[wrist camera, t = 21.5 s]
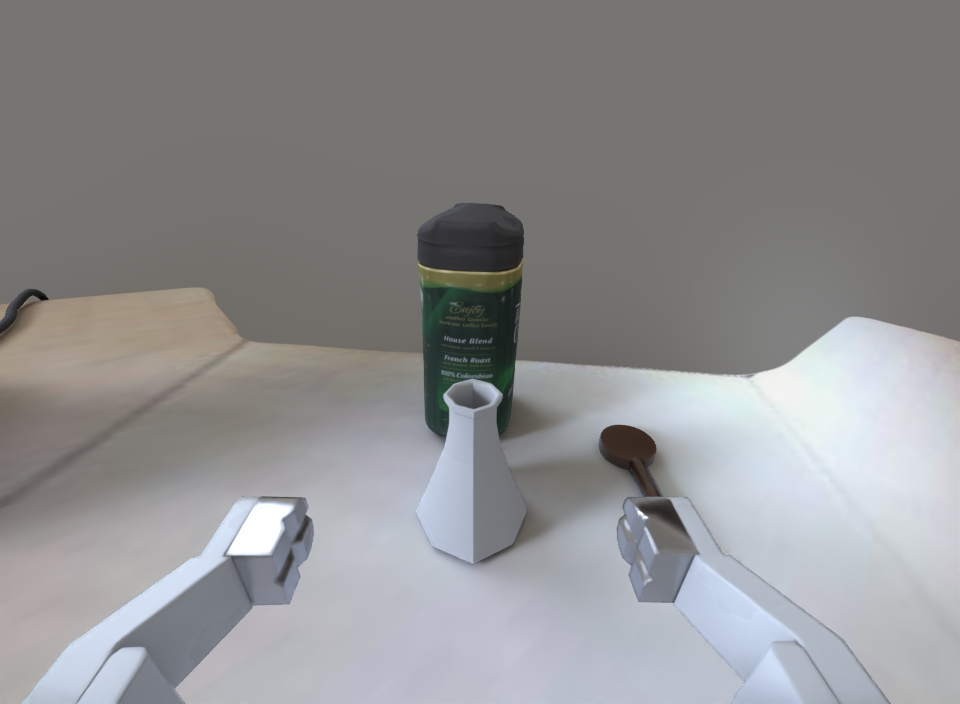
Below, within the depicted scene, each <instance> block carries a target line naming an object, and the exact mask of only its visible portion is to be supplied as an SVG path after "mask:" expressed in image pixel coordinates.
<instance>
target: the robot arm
mask: <svg viewBox="0 0 960 704" xmlns="http://www.w3.org/2000/svg"><path fill="white" fill-rule="evenodd" d="M32 295H34V296H36V297H37V298H39V299H40V300H41V301H44V300H49V299H48V298H47V296H46V295H45V294H44V293H42V292H41V291H38V290H36V289H28V290H25V291H23V292H22V293H20V294H19V295H18V297H17V298H16V299H15V300H14V301H13V302H12V303H11V304H10V305H9V306H8V308H7V310H6V314H5V317H4V318H3V319H2V320H1V321H0V334H1V333H2V332H4V331H5V330H6V329H7V328H8V327H9V326H10V325H11V324H12V323H13V322H14V320H15V318H16V315H17V310H18V309H19V308H20V307H21V306H22V305H23V303H24V302H25V301H26V300H27V299H28V298H29V297H30V296H32ZM622 508H623V510H624V513H625V515H624V516H623V517H621V518H620V519H619V522H618V526H617V540H618V545H619V549H620V552H621V555H622V558H623V559H624V560H625V561H627V562H628V563H629V564H630V565H631V569H630V572H629V577H630V580H631V583H632V585H633V588H634V591H635V594H636V596H637V599H638V602H662V603H674V604H673V605H674V606H675V607H676V608H677V609H678V610H679V611H680V612H681V614H682V615H683V616H684V617H685V618H686V619H687V620H688V621H689V622H690V623H691V624H692V625H693V627H694V628H695V629H696V630H697V631H698V632H699V633H700V634H701V635H702V636H703V637H704V638H705V640H706V641H707V642H708V643H709V644H710V645H711V646H712V647H713V648H714V649H715V650H716V652H717V653H718V654H719V655H720V656H721V657H722V658H723V659H724V660H725V661H726V662H727V663H728V665H729V666H730V667H731V668H732V669H733V670H734V671H735V672H736V673H737V674H738V675H739V676H740V678H741V679H742V680H743V681H744V683H743V685H742V686H741V688H740V689H739V691H738V692H737V693H736V695H735V696H734V698H733V700H732V703H731V704H891V703H890V702H889V701H888V699H887V698H886V697H885V695H884V694H883V693H882V691H881V690H880V688H879V687H878V686H877V684H876V683H875V682H874V680H873V679H872V678H871V676H870V675H869V674H868V672H867V671H866V670H865V668H864V667H863V665H862V664H861V663H860V661H859V660H858V659H857V657H856V656H855V655H854V653H853V652H852V651H851V649H850V648H849V647H848V645H847V644H846V642H845V641H844V640H843V639H842V638H841V637H839V636H838V635H837V634H835V633H834V632H833V631H831V630H830V629H829V628H827V627H826V626H825V625H823V624H822V623H821V622H819V621H818V620H817V619H815V618H814V617H813V616H811V615H810V614H809V613H807V612H806V611H805V610H803V609H802V608H801V607H799V606H798V605H796V604H795V603H794V602H792V601H791V600H790V599H788V598H787V597H786V596H784V595H783V594H782V593H780V592H779V591H778V590H776V589H775V588H774V587H772V586H771V585H770V584H768V583H767V582H766V581H764V580H763V579H762V578H760V577H759V576H758V575H756V574H755V573H753V572H752V571H751V570H749V569H748V568H747V567H745V566H744V565H743V564H741V563H740V562H739V561H737V560H736V559H735V558H733V557H732V556H731V555H724V554H723V553H722V551H721V549H720V548H719V546H718V545H717V543H716V541H715V540H714V538H713V536H712V535H711V533H710V532H709V530H708V528H707V527H706V525H705V523H704V522H703V520H702V518H701V517H700V515H699V514H698V512H697V510H696V509H695V507H694V505H693V504H692V502H691V501H690V500H689V499H688V498H687V497H627V498H626V499H625V500H624V504H623V507H622ZM307 510H308V504H307V501H306V498H301V497H265V496H263V497H256V496H242V497H241V498H239V499H238V500H237V501H236V502H235V503H234V505H233V506H232V508H231V509H230V511H229V513H228V514H227V516H226V517H225V519H224V520H223V522H222V523H221V525H220V526H219V528H218V529H217V531H216V532H215V534H214V536H213V537H212V539H211V540H210V542H209V543H208V545H207V546H206V548H205V549H204V551H203V552H202V554H201V556H198V557H192V558H191V559H189V560H188V561H187V562H185V563H184V564H182V565H181V566H179V567H178V568H177V569H175V570H174V571H172V572H171V573H170V574H168V575H167V576H165V577H164V578H163V579H161V580H160V581H158V582H157V583H156V584H154V585H153V586H151V587H150V588H148V589H147V590H146V591H144V592H143V593H141V594H140V595H139V596H137V597H136V598H134V599H133V600H132V601H130V602H129V603H127V604H126V605H124V606H123V607H122V608H120V609H119V610H117V611H116V612H115V613H113V614H112V615H110V616H109V617H108V618H106V619H105V620H103V621H102V622H101V623H99V624H98V625H96V626H95V627H93V628H92V629H91V630H89V631H88V632H86V633H85V634H84V635H82V636H81V637H79V638H78V639H77V640H75V641H74V642H72V643H71V644H70V645H68V646H67V648H66V649H65V650H64V651H63V653H62V654H61V655H60V656H59V658H58V659H57V660H56V661H55V663H54V664H53V665H52V666H51V668H50V669H49V670H48V671H47V673H46V674H45V675H44V677H43V678H42V679H41V680H40V682H39V683H38V684H37V685H36V687H35V688H34V689H33V690H32V692H31V693H30V694H29V695H28V697H27V698H26V699H25V700H24V702H23V703H22V704H185V702H184V701H183V699H182V698H181V697H180V695H179V694H178V693H177V691H176V690H175V688H176V687H177V686H178V685H179V684H180V683H181V682H182V681H183V680H184V679H185V678H186V677H187V675H188V674H189V673H190V672H191V671H192V670H193V669H194V668H195V667H196V666H197V665H198V664H199V663H200V662H201V661H202V660H203V659H204V658H205V657H206V656H207V655H208V654H209V653H210V652H211V651H212V649H213V648H214V647H215V646H216V645H217V644H218V643H219V642H220V641H221V640H222V639H223V638H224V637H225V636H226V635H227V634H228V633H229V632H230V631H231V630H232V629H233V628H234V627H235V626H236V625H237V624H238V622H239V621H240V620H241V619H242V618H243V617H244V616H245V615H246V614H247V613H248V612H249V611H250V610H251V609H252V606H253V605H281V604H290V602H291V599H292V597H293V594H294V591H295V589H296V586H297V584H298V581H299V579H300V573H299V570H298V567H299V566H300V565H301V564H302V563H303V562H304V561H305V560H307V558H308V555H309V553H310V550H311V547H312V541H313V536H314V530H313V523H312V519H311V518H309V517H308V516H307V515H306V512H307Z"/></svg>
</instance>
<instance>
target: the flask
mask: <svg viewBox="0 0 960 704" xmlns="http://www.w3.org/2000/svg"><path fill="white" fill-rule="evenodd" d="M443 398H444V401H445V402H446V404H447V405H448V406H449V427H448V432H447V437H446V442H445V446H444V449H443V451H442V454H441V456H440V459H439V461H438V463H437V466H436V468H435V471H434V473H433V476H432V478H431V480H430V482H429V484H428V486H427V489H426V491H425V493H424V495H423V497H422V499H421V501H420V504H419V506H418V509H417V511H416V514H417V516H418V518H419V520H420V522H421V524H422V526H423V528H424V531H425V533H426V535H427V537H428V539H429V541H430V543H431V545H432V546H433V547H436V548H438V549H440V550H442V551H445V552H447V553H449V554H451V555H454V556H456V557H458V558H460V559H463V560H465V561H467V562H470V563H472V564H474V563H476V562H478V561H480V560H482V559H484V558H486V557H488V556H490V555H492V554H494V553H496V552H498V551H500V550H502V549H504V548H506V547H508V546H510V545H512V544H513V543H514V541H515V539H516V536H517V534H518V532H519V529H520V527H521V525H522V522H523V520H524V518H525V515H526V513H527V511H528V510H527V508H526V505H525V503H524V500H523V498H522V496H521V494H520V492H519V489H518V487H517V485H516V483H515V480H514V478H513V476H512V473H511V471H510V468H509V466H508V463H507V461H506V458H505V455H504V453H503V450H502V448H501V445H500V439H499V434H498V429H497V423H496V418H497V407H498V405H499V404H500V402H501V401H502V398H503V394H502V393H501V392H500V391H499V390H498V389H497V388H496V387H495V386H494V385H493V384H491V383H488V382H484V381H480V380H476V379H469V380H466V381H462V382H458V383H455V384H453V385H452V386H451V387H450V388H449V389H448V390H447V391H446V392H445V394H444V396H443Z"/></svg>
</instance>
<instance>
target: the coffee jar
mask: <svg viewBox="0 0 960 704" xmlns="http://www.w3.org/2000/svg"><path fill="white" fill-rule="evenodd" d="M523 234H524V231H523V225H522V223H521V221H520V220H519V219H517V218H516V217H515V216H514V215H512V214H511V213H509V212H507V211H506V210H505V209H504V207H502V206H500V205H490V204H477V203H460V204H456V205H455V206H454V207H453V208H451V209H449V210H447V211H445V212H442V213H440V214H438V215H436V216H435V217H433V218H432V219H430V220H429V221H427V222H426V223H424V224H423V225H422V226H421V227H420V228H419V230H418V234H417V236H418V268H419V278H420V288H421V304H422V324H423V325H422V326H423V356H424V402H425V421H426V424H427V426H428V427H429V429H431V430H432V431H433V432H435V433H436V434H438V435H441V436H445V437H447V432H448V427H449V406H448V405H447V404H446V402H445V401H444V398H443V396H444V394H445V392H446V391H447V390H448V389H449V388H450V387H451V386H452V385H453V384H455V383H458V382H462V381H466V380H469V379H476V380H480V381H484V382H488V383H491V384H493V385H494V386H495V387H496V388H497V389H498V390H499V391H500V392H501V393H502V394H503V398H502V401H501V402H500V404H499V405H498V407H497V418H496V423H497V429H498V434H499V435H500V434H501V433H502V432H503V431H504V430H505V429H506V427H507V425H508V422H509V418H510V414H511V406H512V396H513V385H514V371H515V360H516V350H517V340H518V328H519V315H520V301H521V285H522V265H523V244H524V237H523Z"/></svg>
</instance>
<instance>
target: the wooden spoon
mask: <svg viewBox="0 0 960 704" xmlns="http://www.w3.org/2000/svg"><path fill="white" fill-rule="evenodd" d="M599 449H600V452H601V453H602V455H603V456H604V457H605V458H606V459H607V460H608V461H610V462H611V463H613V464H615V465H617V466H619V467H622V468H626V469H631V471H632V473H633V475H634V477H635V480H636V482H637V484H638V486H639V488H640V490H641V492H642V494H643V496H644V497H663V496H662V494H661V492H660V490H659V488H658V486H657V484H656V482H655V481H654V479H653V477H652V475H651V473H650V471H649V469H648V466H649V465H651V464H652V462H653V460H654V457H655V453H656V444H655V442H654V441H653V439H652V438H651V437H650V436H649V435H648V434H646V433H645V432H643V431H641V430H640V429H637V428H635V427H631V426H627V425H613V426H609V427H607V428H605V429H604V430H603V431H602V433H601V436H600V441H599Z"/></svg>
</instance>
